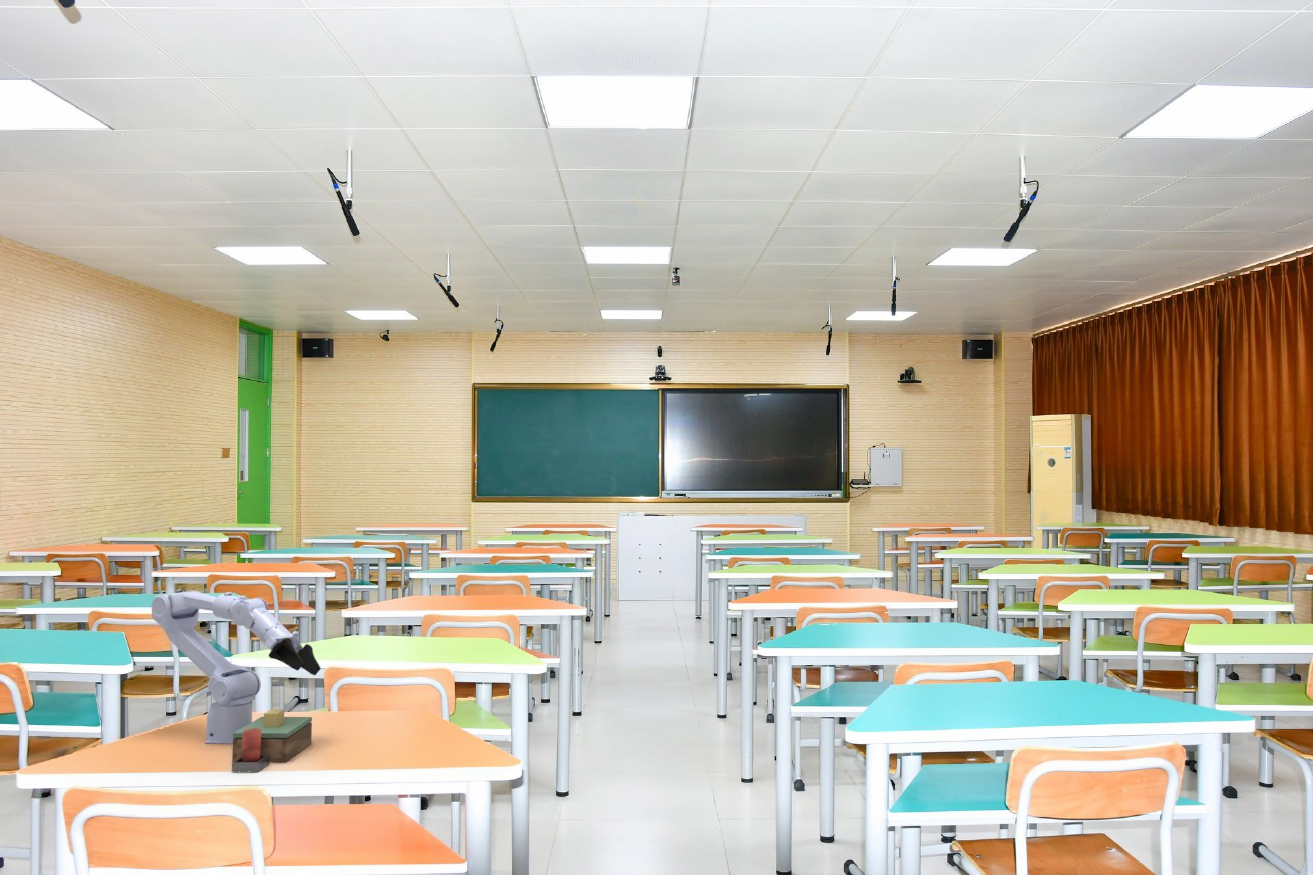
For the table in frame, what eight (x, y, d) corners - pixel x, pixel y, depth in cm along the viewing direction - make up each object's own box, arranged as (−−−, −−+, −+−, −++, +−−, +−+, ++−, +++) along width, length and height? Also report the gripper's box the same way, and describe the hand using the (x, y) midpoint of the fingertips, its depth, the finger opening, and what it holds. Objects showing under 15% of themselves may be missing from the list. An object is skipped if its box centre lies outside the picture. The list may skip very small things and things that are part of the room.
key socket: (231, 771, 188) (232, 762, 188) (244, 763, 193) (244, 754, 194) (257, 772, 188) (258, 762, 188) (269, 763, 193) (269, 754, 194)
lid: (232, 737, 195) (233, 719, 195) (261, 720, 209) (261, 703, 209) (287, 737, 195) (287, 719, 195) (311, 721, 209) (312, 704, 209)
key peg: (238, 770, 189) (239, 732, 189) (246, 765, 192) (247, 728, 193) (255, 770, 189) (256, 732, 189) (262, 765, 192) (263, 728, 193)
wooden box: (232, 762, 195) (232, 739, 195) (260, 743, 209) (261, 722, 209) (286, 762, 195) (286, 739, 195) (311, 743, 209) (311, 722, 209)
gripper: (267, 614, 204) (304, 650, 199) (300, 626, 217) (336, 660, 212) (246, 638, 203) (282, 675, 198) (280, 649, 216) (315, 684, 211)
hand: (309, 669), depth 205 cm, fingers open, 7 cm apart
